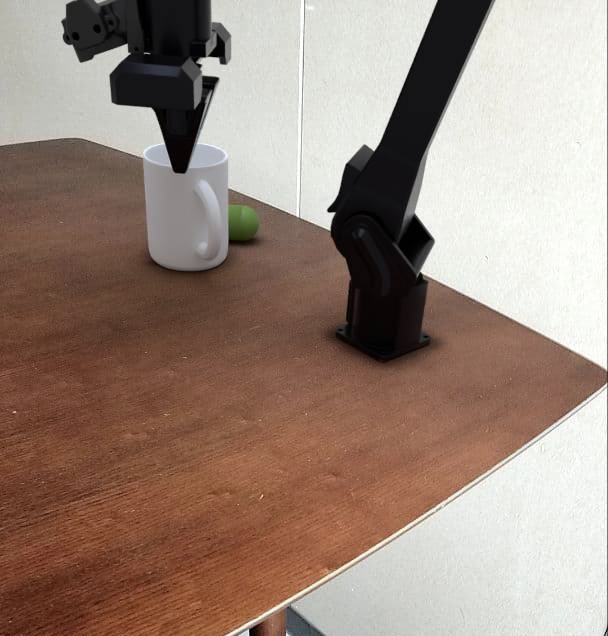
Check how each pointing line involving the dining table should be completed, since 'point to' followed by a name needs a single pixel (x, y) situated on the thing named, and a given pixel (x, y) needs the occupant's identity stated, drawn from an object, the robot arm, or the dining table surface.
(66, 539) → the dining table surface
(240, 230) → the pickle
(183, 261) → the mug
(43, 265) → the dining table surface
